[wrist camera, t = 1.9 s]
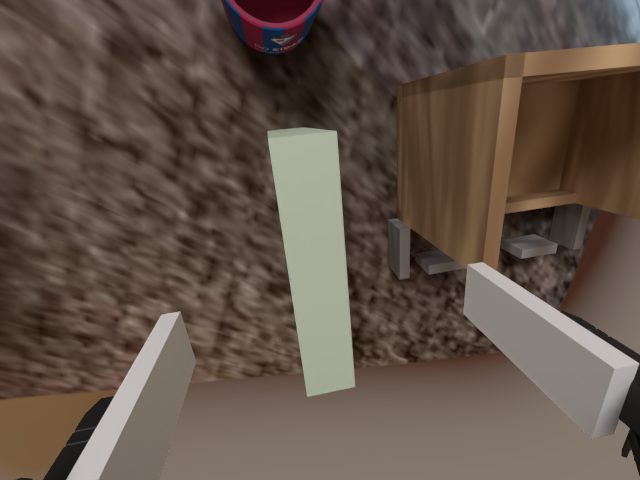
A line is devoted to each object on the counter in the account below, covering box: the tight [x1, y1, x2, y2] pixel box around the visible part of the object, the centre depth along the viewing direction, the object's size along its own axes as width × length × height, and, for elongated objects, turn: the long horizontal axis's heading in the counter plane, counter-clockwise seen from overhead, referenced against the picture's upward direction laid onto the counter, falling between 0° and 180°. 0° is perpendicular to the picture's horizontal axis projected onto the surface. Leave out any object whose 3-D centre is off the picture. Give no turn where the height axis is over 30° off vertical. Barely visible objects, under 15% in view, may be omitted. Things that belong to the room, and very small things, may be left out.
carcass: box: [388, 43, 640, 279], centre depth 24 cm, size 20×17×13 cm
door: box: [268, 127, 355, 397], centre depth 22 cm, size 15×4×14 cm, turn 5°
